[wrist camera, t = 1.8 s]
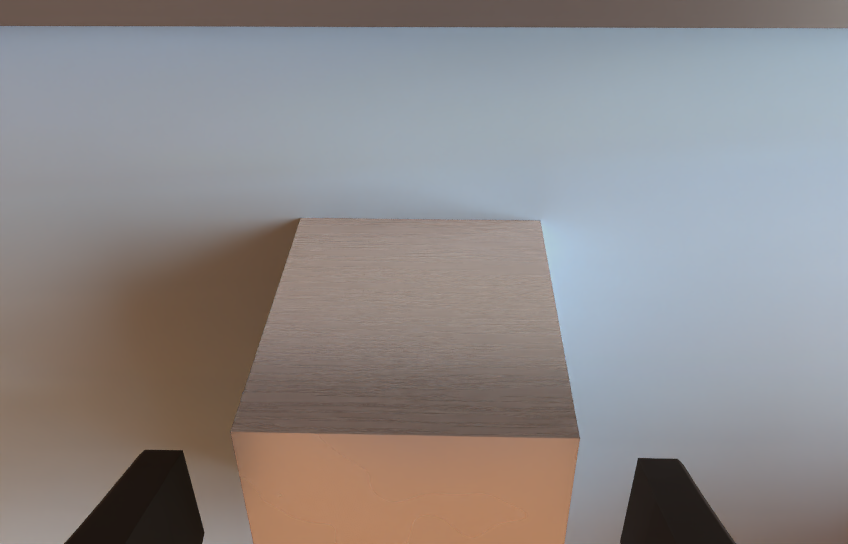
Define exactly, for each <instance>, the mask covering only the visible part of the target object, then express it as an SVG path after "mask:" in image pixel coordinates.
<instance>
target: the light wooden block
mask: <svg viewBox="0 0 848 544" xmlns="http://www.w3.org/2000/svg"><path fill="white" fill-rule="evenodd" d="M230 433H231V437H232V442H233V447H234V452H235V456H236V461H237V466H238V471H239V476H240V480H241V485H242V490H243V495H244V500H245V504H246V509H247V514H248V519H249V524H250V528H251V533H252V538H253V543H254V544H564V541H565V534H566V527H567V521H568V514H569V507H570V501H571V494H572V487H573V481H574V474H575V467H576V461H577V454H578V447H579V440H580V437H579V431H578V426H577V420H576V415H575V409H574V404H573V398H572V393H571V387H570V382H569V376H568V371H567V365H566V360H565V354H564V349H563V343H562V338H561V332H560V326H559V321H558V315H557V310H556V304H555V299H554V293H553V288H552V282H551V277H550V271H549V266H548V260H547V255H546V249H545V244H544V238H543V232H542V227H541V221H530V220H442V219H353V218H301V219H300V222H299V225H298V228H297V231H296V234H295V237H294V240H293V243H292V246H291V249H290V252H289V255H288V258H287V261H286V264H285V267H284V271H283V274H282V277H281V280H280V283H279V286H278V289H277V292H276V295H275V298H274V301H273V304H272V307H271V310H270V313H269V316H268V319H267V322H266V325H265V328H264V331H263V334H262V337H261V340H260V343H259V346H258V349H257V352H256V356H255V359H254V362H253V365H252V368H251V371H250V374H249V377H248V380H247V383H246V386H245V389H244V392H243V395H242V398H241V401H240V404H239V407H238V410H237V413H236V416H235V419H234V422H233V425H232V428H231V431H230Z"/></svg>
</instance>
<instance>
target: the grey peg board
mask: <svg viewBox="0 0 848 544" xmlns="http://www.w3.org/2000/svg"><path fill="white" fill-rule="evenodd" d="M0 26H275V27H621V28H848V0H0Z"/></svg>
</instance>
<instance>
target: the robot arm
mask: <svg viewBox="0 0 848 544" xmlns="http://www.w3.org/2000/svg"><path fill="white" fill-rule="evenodd" d="M203 537H204V529H203V526H202V522H201V518H200V514H199V510H198V507H197V503H196V499H195V495H194V491H193V488H192V484H191V480H190V476H189V472H188V469H187V465H186V461H185V457H184V453H183V450H144V451H143V452H142V453H141V454H140V455H139V456H138V457H137V458H136V460H135V461H134V462H133V463H132V464H131V466H130V467H129V468H128V469H127V470H126V472H125V473H124V474H123V475H122V477H121V478H120V479H119V480H118V481H117V483H116V484H115V485H114V486H113V487H112V489H111V490H110V491H109V492H108V493H107V495H106V496H105V497H104V498H103V499H102V501H101V502H100V503H99V504H98V505H97V507H96V508H95V509H94V510H93V511H92V512H91V514H90V515H89V516H88V517H87V518H86V519H85V521H84V522H83V523H82V524H81V525H80V526H79V528H78V529H77V530H76V531H75V532H74V533H73V534H72V535H71V537H70V538H69V539H68V540H67V541H66V542H65V543H64V544H202V542H203ZM620 543H621V544H736V543H735V542H734V540H733V539H732V538H731V536H730V535H729V533H728V532H727V530H726V529H725V527H724V526H723V524H722V523H721V522H720V520H719V519H718V517H717V516H716V514H715V513H714V511H713V510H712V508H711V507H710V505H709V504H708V502H707V501H706V499H705V498H704V496H703V495H702V493H701V492H700V490H699V489H698V487H697V486H696V484H695V482H694V481H693V479H692V478H691V476H690V475H689V473H688V471H687V470H686V468H685V467H684V465H683V464H682V463H681V462H680V461H679V460H678V459H652V458H638V461H637V466H636V470H635V475H634V480H633V484H632V489H631V494H630V498H629V503H628V508H627V512H626V517H625V521H624V526H623V531H622V535H621V540H620Z"/></svg>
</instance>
